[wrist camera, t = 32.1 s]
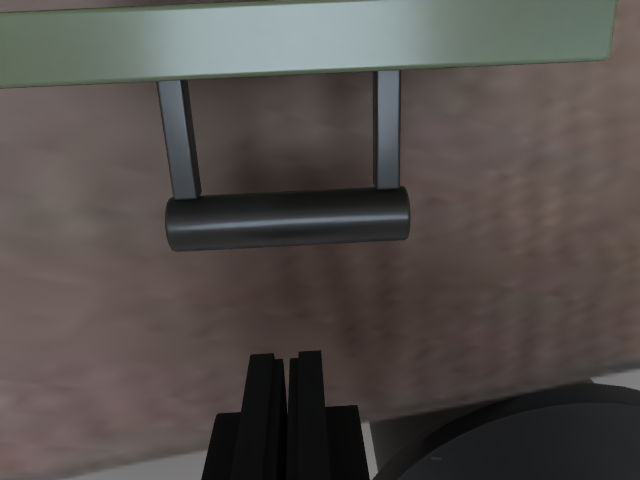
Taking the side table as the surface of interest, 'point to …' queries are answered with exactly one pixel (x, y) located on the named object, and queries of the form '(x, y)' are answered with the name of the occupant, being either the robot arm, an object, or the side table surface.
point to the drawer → (291, 59)
